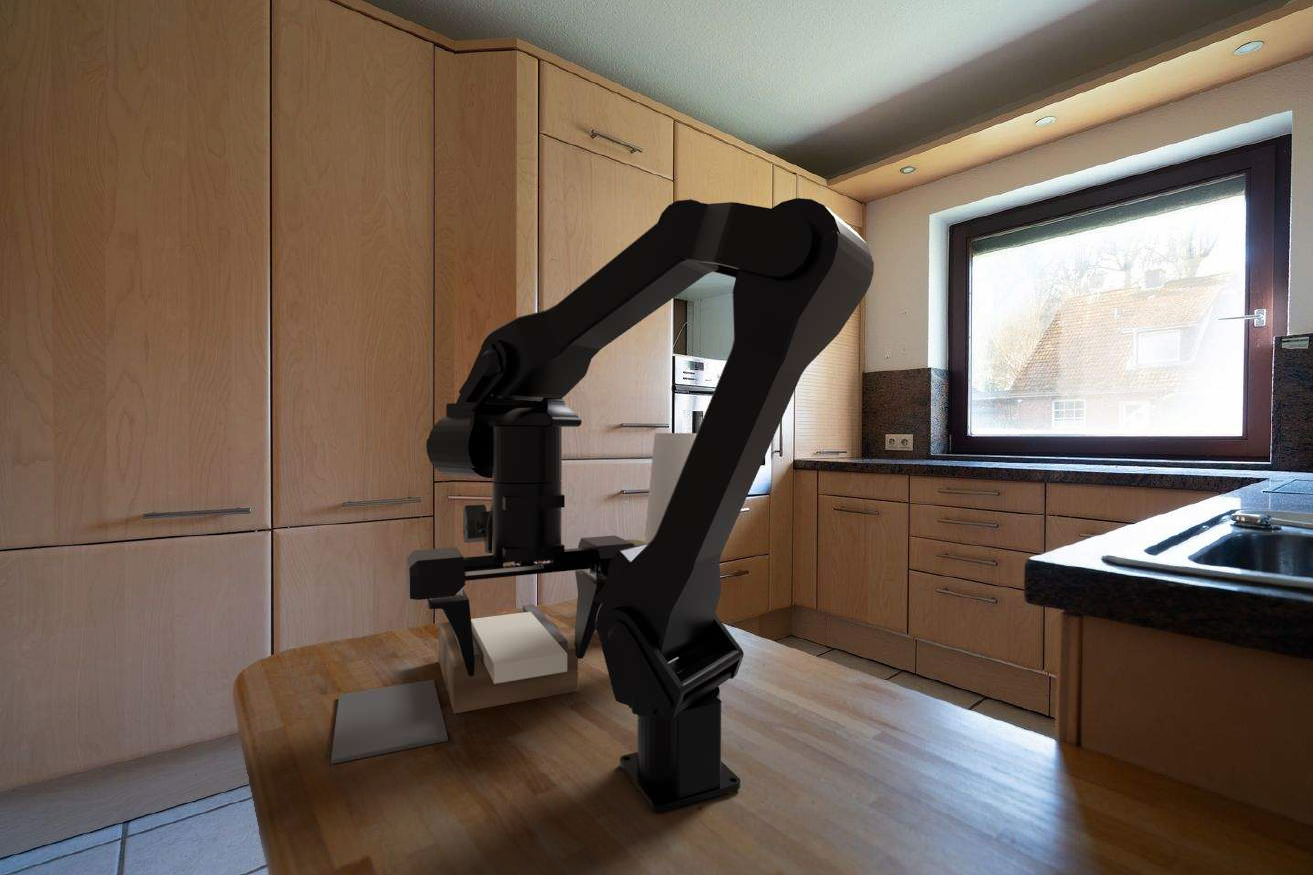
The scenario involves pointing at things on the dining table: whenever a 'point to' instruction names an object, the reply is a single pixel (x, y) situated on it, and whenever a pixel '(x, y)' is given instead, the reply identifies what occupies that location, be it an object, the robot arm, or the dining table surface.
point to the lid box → (487, 694)
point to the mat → (387, 721)
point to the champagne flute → (665, 475)
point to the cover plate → (517, 647)
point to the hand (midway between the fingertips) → (527, 665)
